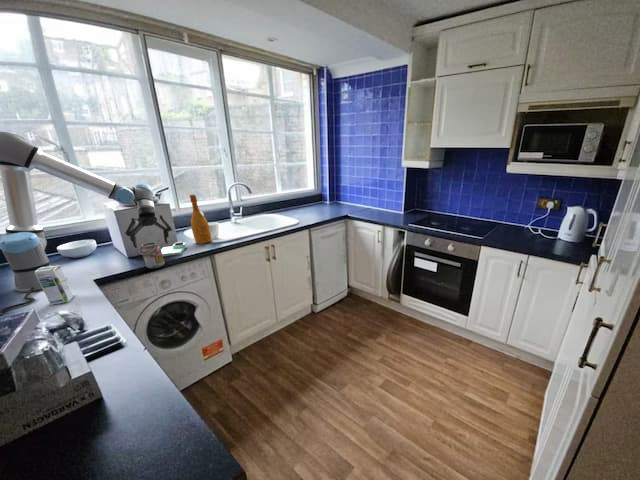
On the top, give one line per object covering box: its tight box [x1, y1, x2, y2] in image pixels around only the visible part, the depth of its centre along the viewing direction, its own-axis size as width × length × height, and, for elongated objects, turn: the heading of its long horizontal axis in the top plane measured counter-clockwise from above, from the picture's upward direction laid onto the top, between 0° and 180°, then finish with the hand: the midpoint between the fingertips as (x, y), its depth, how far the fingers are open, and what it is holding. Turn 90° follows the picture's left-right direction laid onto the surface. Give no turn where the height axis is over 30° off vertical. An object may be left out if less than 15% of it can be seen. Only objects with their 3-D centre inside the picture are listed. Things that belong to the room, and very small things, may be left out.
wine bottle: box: [189, 194, 213, 245], centre depth 182 cm, size 10×10×30 cm
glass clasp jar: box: [138, 241, 166, 270], centre depth 149 cm, size 9×8×12 cm
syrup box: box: [34, 264, 74, 306], centre depth 116 cm, size 6×6×14 cm
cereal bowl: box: [56, 239, 98, 259], centre depth 168 cm, size 17×17×7 cm
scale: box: [160, 242, 187, 257], centre depth 172 cm, size 14×13×3 cm
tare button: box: [174, 240, 184, 246], centre depth 175 cm, size 4×4×2 cm
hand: (151, 244), depth 151 cm, fingers open, 13 cm apart
